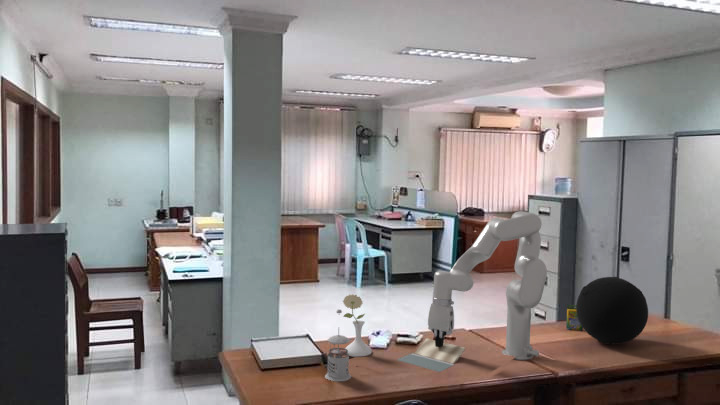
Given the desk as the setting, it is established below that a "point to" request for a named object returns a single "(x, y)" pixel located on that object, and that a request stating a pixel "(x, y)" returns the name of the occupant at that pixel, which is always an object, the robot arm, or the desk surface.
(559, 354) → the desk surface
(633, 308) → the sphere
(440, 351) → the plank
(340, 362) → the french press
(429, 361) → the grey rectangular panel
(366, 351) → the flower in vase
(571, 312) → the crayon box
